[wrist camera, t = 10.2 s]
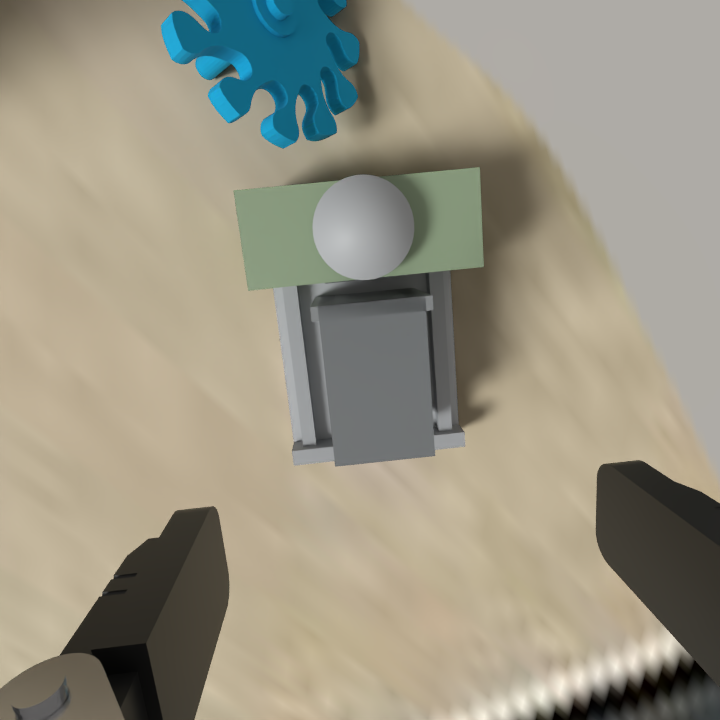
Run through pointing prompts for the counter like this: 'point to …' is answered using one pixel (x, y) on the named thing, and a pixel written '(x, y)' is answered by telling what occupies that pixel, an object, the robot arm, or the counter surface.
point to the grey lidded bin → (377, 374)
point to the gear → (270, 60)
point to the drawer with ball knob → (360, 274)
